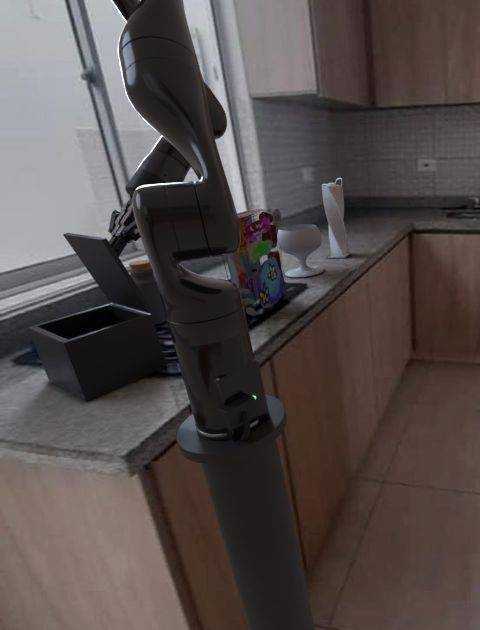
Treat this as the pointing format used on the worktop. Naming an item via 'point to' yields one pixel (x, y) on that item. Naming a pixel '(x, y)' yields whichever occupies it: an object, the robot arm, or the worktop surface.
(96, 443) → the worktop surface
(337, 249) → the skyscraper
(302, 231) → the chalice
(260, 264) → the box
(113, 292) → the dark grey box lid
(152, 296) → the bottle
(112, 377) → the dark grey lidded box
